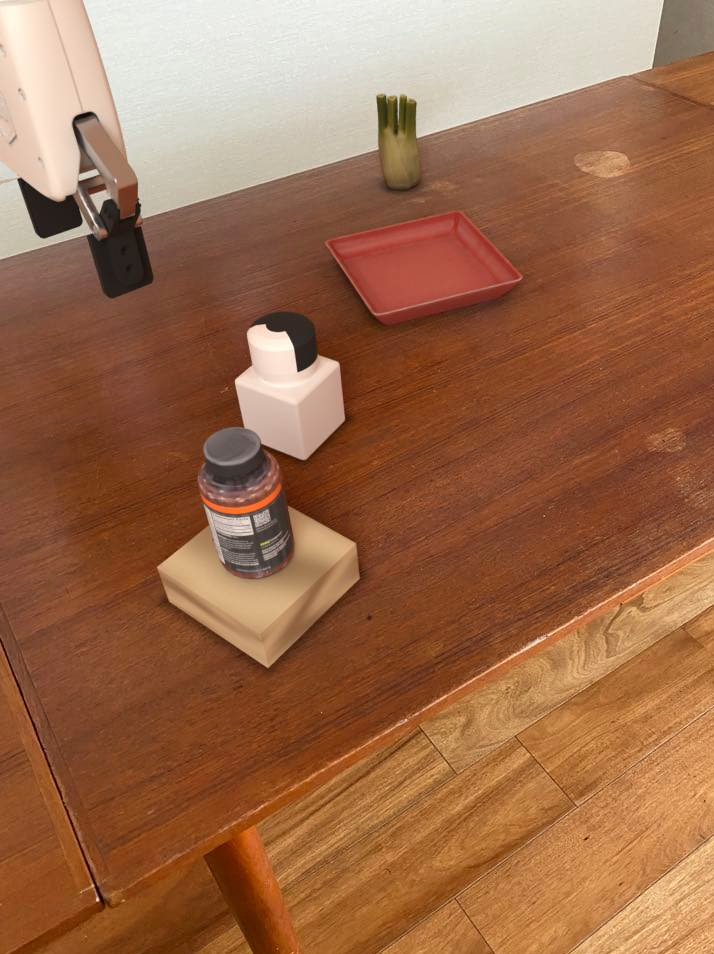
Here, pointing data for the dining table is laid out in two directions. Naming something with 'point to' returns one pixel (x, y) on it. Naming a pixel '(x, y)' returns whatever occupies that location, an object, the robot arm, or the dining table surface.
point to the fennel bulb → (398, 142)
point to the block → (263, 588)
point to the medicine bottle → (289, 386)
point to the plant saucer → (423, 267)
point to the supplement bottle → (245, 504)
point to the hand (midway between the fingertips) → (93, 258)
